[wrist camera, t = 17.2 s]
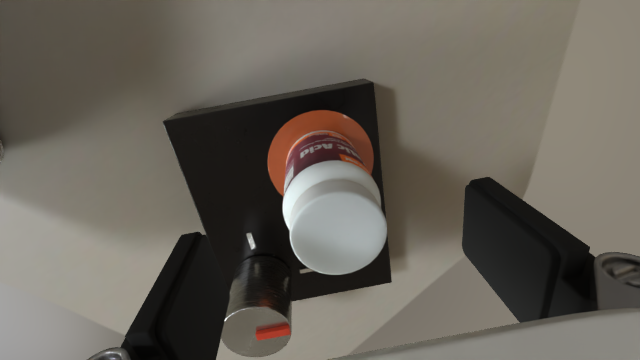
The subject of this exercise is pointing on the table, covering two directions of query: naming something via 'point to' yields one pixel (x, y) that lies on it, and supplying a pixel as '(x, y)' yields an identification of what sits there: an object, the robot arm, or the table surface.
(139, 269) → the table surface
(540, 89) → the table surface
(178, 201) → the table surface
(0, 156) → the radio
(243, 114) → the hob
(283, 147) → the burner ring
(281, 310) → the hob knob
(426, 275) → the table surface
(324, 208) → the pill bottle
